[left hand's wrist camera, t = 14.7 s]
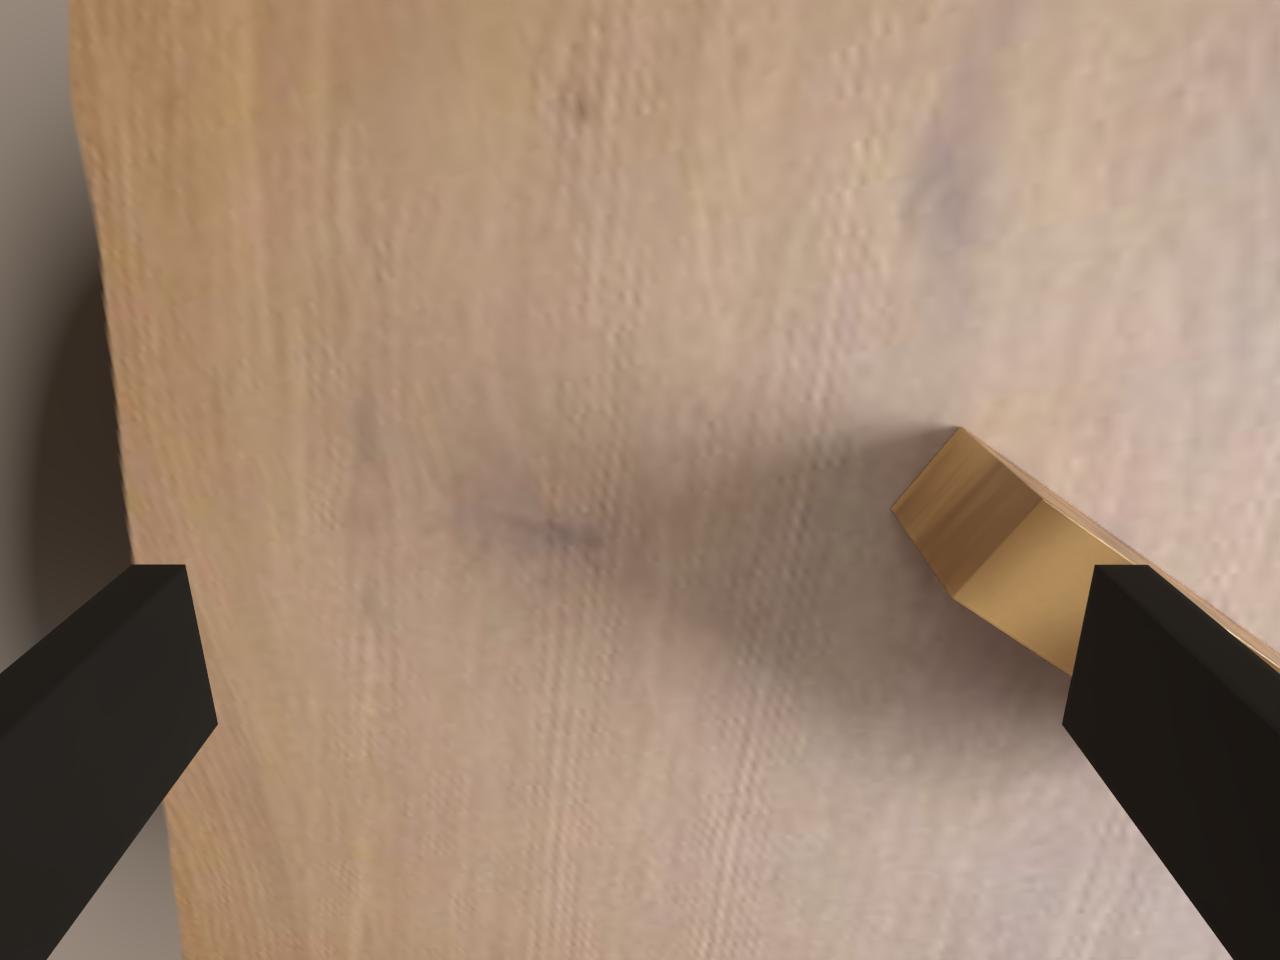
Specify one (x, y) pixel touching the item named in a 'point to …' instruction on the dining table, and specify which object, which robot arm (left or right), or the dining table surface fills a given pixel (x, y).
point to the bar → (1019, 550)
